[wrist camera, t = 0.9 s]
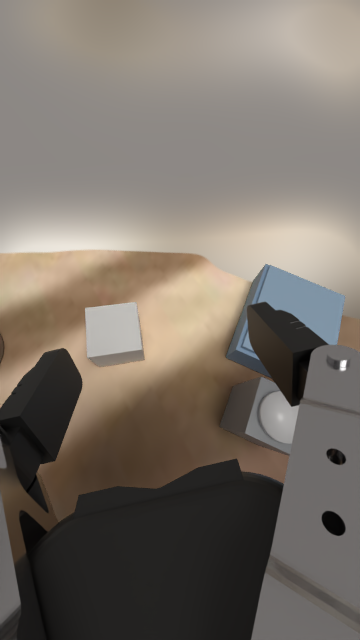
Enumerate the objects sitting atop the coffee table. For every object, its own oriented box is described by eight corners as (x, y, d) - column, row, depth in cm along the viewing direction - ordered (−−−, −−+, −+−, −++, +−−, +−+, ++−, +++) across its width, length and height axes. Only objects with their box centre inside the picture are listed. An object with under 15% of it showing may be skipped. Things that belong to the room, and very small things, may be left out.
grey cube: (96, 325, 33) (84, 307, 28) (139, 319, 34) (136, 301, 28) (99, 367, 31) (87, 357, 25) (144, 360, 32) (142, 349, 26)
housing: (219, 426, 30) (248, 434, 20) (233, 386, 32) (264, 375, 22) (259, 445, 29) (307, 462, 20) (271, 403, 31) (319, 400, 22)
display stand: (225, 357, 33) (237, 348, 28) (253, 280, 38) (267, 260, 33) (306, 393, 32) (333, 390, 27) (323, 309, 37) (348, 294, 33)
